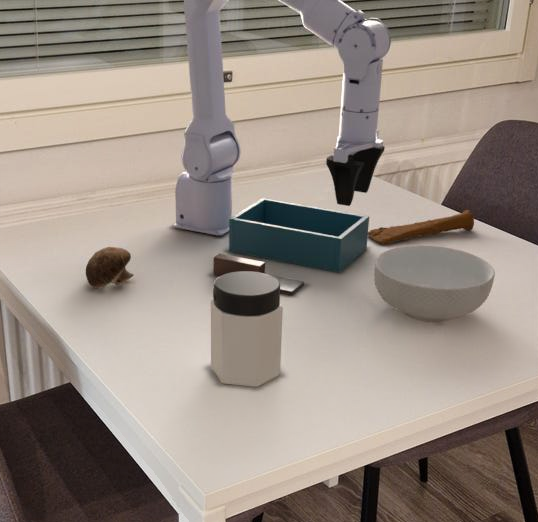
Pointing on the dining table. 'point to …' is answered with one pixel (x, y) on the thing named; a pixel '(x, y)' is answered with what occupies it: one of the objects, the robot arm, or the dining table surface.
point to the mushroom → (108, 267)
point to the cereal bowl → (433, 281)
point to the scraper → (237, 264)
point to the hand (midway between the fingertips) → (352, 197)
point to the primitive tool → (423, 228)
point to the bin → (299, 234)
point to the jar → (246, 328)
